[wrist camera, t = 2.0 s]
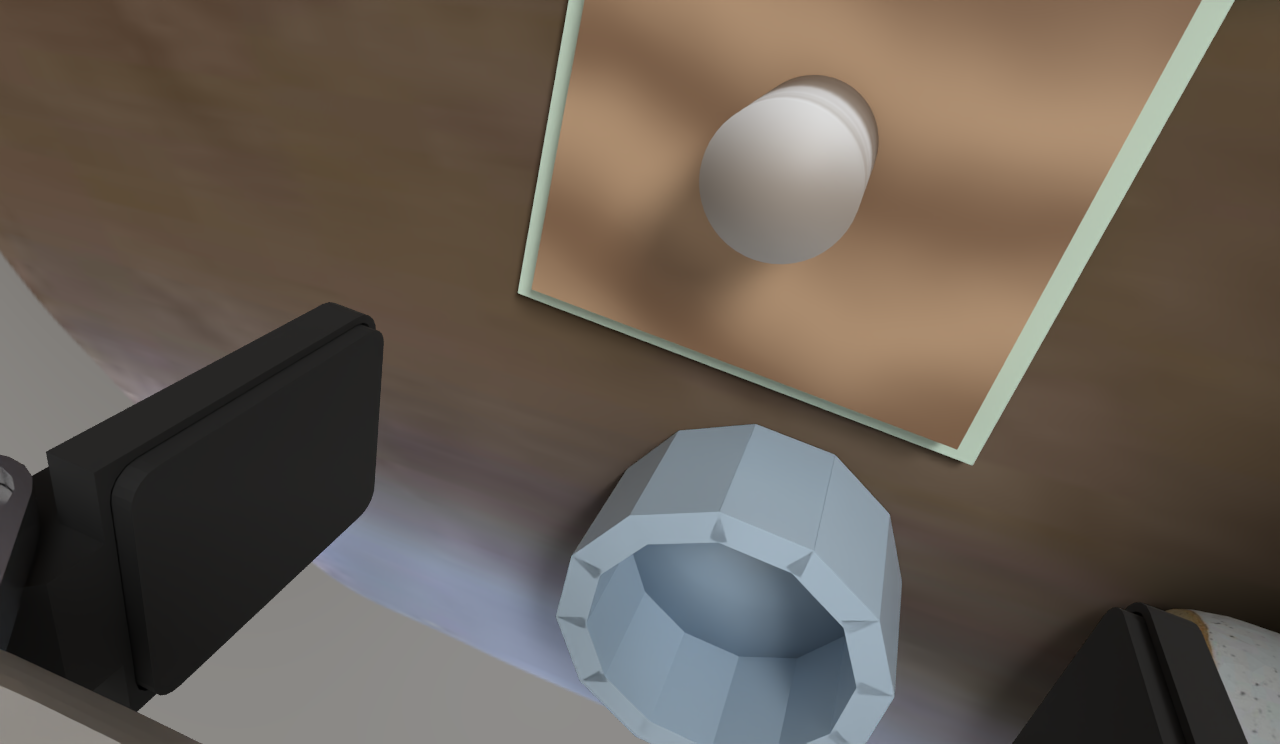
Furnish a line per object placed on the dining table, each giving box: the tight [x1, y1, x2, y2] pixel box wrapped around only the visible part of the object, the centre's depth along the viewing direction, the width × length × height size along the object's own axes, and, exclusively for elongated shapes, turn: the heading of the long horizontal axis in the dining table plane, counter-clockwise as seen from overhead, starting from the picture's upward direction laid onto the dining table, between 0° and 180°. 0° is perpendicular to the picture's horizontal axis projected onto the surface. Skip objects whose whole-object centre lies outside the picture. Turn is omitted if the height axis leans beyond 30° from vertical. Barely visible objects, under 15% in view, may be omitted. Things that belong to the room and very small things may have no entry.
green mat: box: [518, 0, 1234, 465], centre depth 26 cm, size 18×18×1 cm
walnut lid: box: [532, 0, 1202, 450], centre depth 22 cm, size 16×16×7 cm
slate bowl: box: [556, 424, 902, 744], centre depth 31 cm, size 12×12×6 cm
